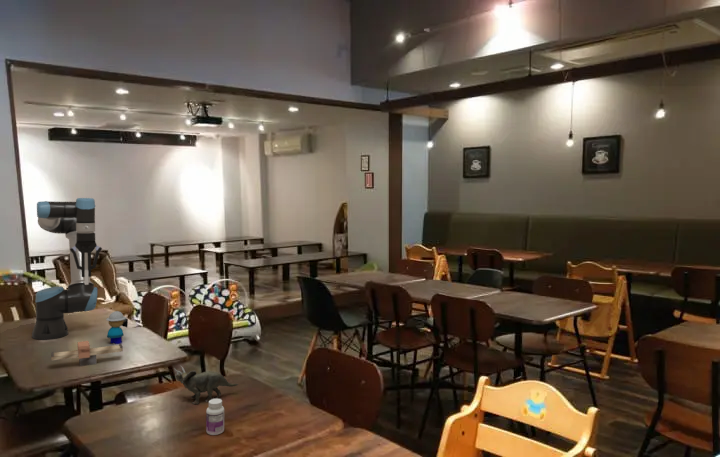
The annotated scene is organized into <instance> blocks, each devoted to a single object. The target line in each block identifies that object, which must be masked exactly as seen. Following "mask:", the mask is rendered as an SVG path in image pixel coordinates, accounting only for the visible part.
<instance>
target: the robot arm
mask: <svg viewBox="0 0 720 457" xmlns="http://www.w3.org/2000/svg"><path fill="white" fill-rule="evenodd" d="M95 202H96V201H95V199H94V198H92V197H91V198H90V197H77V198H76V200H75V201H50V200H49V201H48V200H45V201H38V202H37V203H36V217H37V224H38V226H39V227H40V228H41V229H42V230H44V231H45V232H49V233H52V234H59V235H60V234H62V235H63V234H65V238H66V239H68V245H69V264H70V284H68V286H67V289H64V287H63V286H52V287H47V288H43V289H41V290H39V291H37V292H36V293H35V301H34V302H35V324H34V326H33V329H32V333H31V334H32V335H31V337H32V339H34V340H38V341H39V340H43V341H44V340H53V339H58V338H63V337H65V336H68V335H69V328H68V325H67V323H66V321H65V317H64V316H65V314H70V313H71V314H72V313H81V312H85V313H86V312H89V311H93V310H95V309H96V307H97V301H98V300H97V299H98V287H96V286H95V285H94V283H93V282H92V281H91V277H92V270H93V269H96V267H97V263H98V259H99V255H100V253H101V251H102V250H103V248H102V247H101V246H99V245H97V242H96V233H95V232H96V215H95V213H96V203H95ZM94 250H95V251H96V252H95V255H94V257H93V262H92V252H93V251H94Z"/></svg>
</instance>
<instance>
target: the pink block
mask: <svg viewBox="0 0 720 457" xmlns="http://www.w3.org/2000/svg"><path fill="white" fill-rule="evenodd" d="M90 348H91V345H90V342H89V340H83V341H78V342H77V350H78V353H79V357H78V360H79V359H81V358H88V357H90Z"/></svg>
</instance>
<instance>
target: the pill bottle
mask: <svg viewBox="0 0 720 457" xmlns="http://www.w3.org/2000/svg"><path fill="white" fill-rule="evenodd" d="M205 413H206V414H205V423H206V424H205V426H206V427H205V429H206V434H208V435H211V436H217V435H221V434H222V433H223V432H224V431H225V407H224V406H223V400H222V398H211V400H210V401H209V402H208V407H207V408H206V412H205Z"/></svg>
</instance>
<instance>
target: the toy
mask: <svg viewBox="0 0 720 457" xmlns="http://www.w3.org/2000/svg"><path fill="white" fill-rule="evenodd" d="M105 320H106V321H107V322H108V325H109V326H110V328H109V329H108V331H107V335H106V338H109V339H110V344H114V345H119V344H122V341H123V340H122V338H123V337H124V330H123V329H122V327H124V328H128V324H129V322H128V321H129V319H128V318H127V317H126V316H124V314H123V313H122V312H121V311H118V310H116V311H113V312H111V313H110V314H109V316H108V317H107V318H106V319H105Z"/></svg>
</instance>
